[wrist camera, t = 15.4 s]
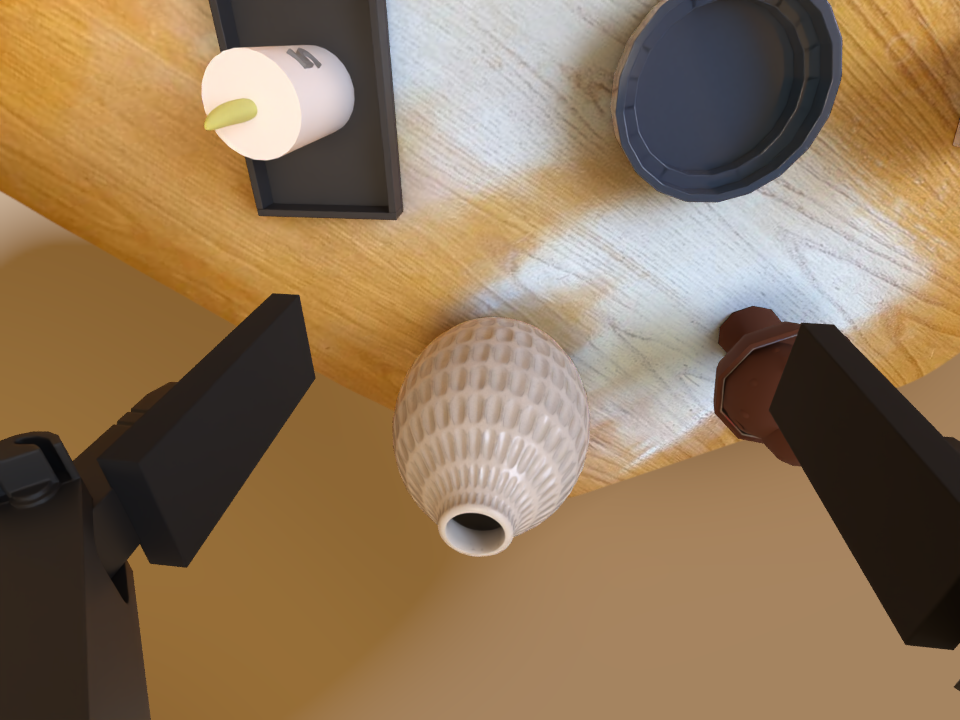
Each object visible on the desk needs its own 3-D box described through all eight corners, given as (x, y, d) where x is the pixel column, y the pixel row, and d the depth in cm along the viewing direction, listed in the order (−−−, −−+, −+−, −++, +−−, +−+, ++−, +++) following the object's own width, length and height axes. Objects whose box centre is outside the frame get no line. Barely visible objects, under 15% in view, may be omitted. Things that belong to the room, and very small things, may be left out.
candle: (371, 84, 40) (290, 106, 28) (328, 151, 43) (238, 199, 31) (302, 21, 39) (182, 15, 26) (262, 96, 42) (138, 122, 29)
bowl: (624, -27, 35) (632, -34, 32) (846, -31, 34) (879, -38, 31) (600, 187, 43) (604, 199, 40) (780, 190, 42) (801, 204, 38)
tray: (212, -64, 37) (192, -70, 35) (380, -68, 36) (369, -75, 34) (271, 208, 47) (258, 216, 45) (403, 211, 46) (396, 220, 44)
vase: (516, 443, 58) (501, 636, 40) (393, 365, 55) (312, 538, 36) (617, 346, 51) (658, 529, 32) (482, 248, 47) (438, 390, 28)
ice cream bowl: (842, 312, 46) (953, 416, 34) (752, 398, 52) (817, 515, 39) (746, 256, 45) (824, 343, 32) (663, 352, 50) (702, 458, 38)
